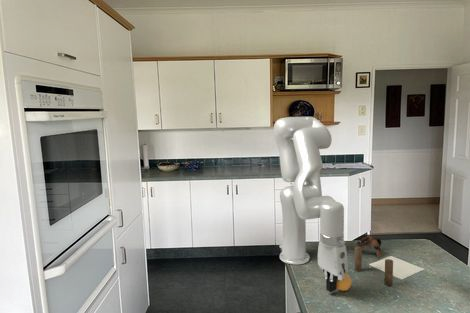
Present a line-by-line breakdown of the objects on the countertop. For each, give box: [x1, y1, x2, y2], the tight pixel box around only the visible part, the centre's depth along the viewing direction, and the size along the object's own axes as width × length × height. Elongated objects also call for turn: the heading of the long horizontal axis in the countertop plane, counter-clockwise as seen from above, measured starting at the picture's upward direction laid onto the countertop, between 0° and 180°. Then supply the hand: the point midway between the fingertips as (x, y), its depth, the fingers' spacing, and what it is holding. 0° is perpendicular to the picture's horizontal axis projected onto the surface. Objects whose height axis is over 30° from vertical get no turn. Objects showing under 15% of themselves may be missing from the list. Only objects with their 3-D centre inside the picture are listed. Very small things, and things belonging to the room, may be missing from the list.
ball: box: [336, 273, 352, 292], centre depth 111 cm, size 6×6×6 cm
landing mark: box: [368, 255, 425, 280], centre depth 126 cm, size 14×14×1 cm
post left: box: [354, 246, 363, 272], centre depth 124 cm, size 3×3×9 cm
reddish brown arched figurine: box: [356, 235, 383, 258], centre depth 140 cm, size 12×10×8 cm
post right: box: [383, 259, 394, 288], centre depth 113 cm, size 3×3×9 cm
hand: (331, 289), depth 109 cm, fingers closed
